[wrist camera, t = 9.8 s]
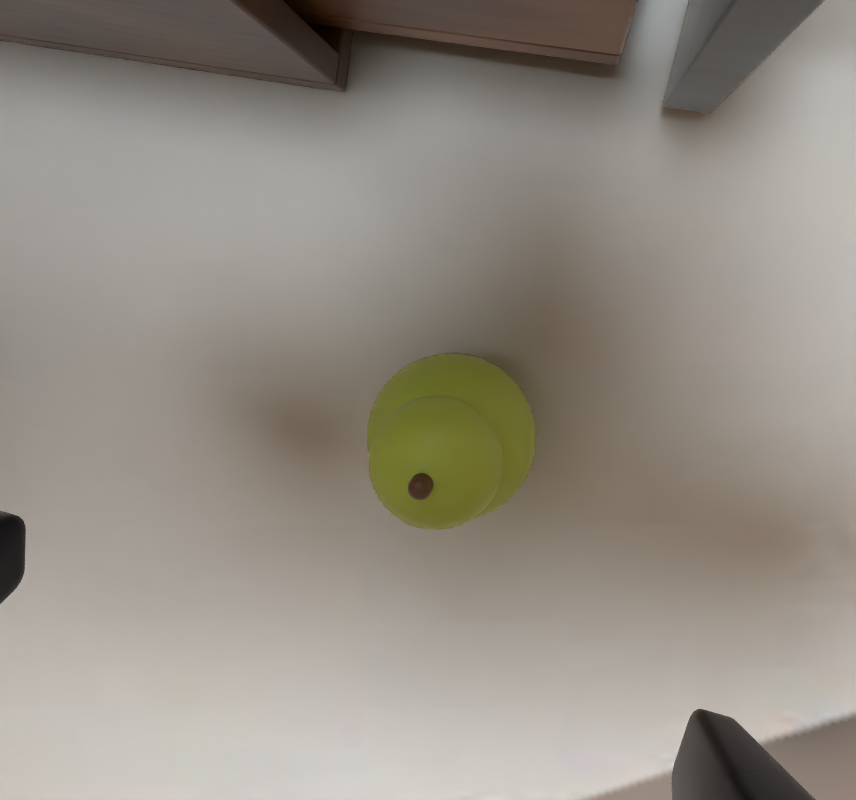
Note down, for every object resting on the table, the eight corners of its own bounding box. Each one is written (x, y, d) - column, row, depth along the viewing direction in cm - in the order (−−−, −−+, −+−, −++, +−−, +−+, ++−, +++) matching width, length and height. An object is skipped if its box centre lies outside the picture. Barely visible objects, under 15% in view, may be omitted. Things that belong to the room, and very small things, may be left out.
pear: (520, 503, 20) (502, 618, 13) (380, 469, 20) (299, 562, 14) (553, 360, 19) (551, 411, 12) (404, 329, 19) (328, 362, 13)
